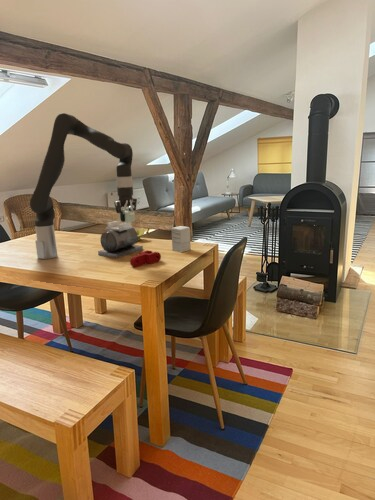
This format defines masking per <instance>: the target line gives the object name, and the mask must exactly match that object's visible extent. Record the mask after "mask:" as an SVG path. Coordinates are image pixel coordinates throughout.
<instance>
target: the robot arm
mask: <svg viewBox="0 0 375 500" xmlns="http://www.w3.org/2000/svg"><path fill="white" fill-rule="evenodd" d="M68 135H72V136H75V137H79V138H81V139H84V140H86V141H87V142H89V143H90V144H91V145H93V146H95V147H97V148H99V149H101V150H103V151H105V152H107V153H108V154H109V155H111V156H112V157H114V158H116V159H118V160H119V161H118V164H117V165H116V190H117V193H116V194H117V196H118V200H117V201H113V203H114V207H115V212H116V214H118V215H119V214H120V219H121V221H122V222H121V223H125V214H124V213H125V210H127V211H136V210H137V202H138V199H137V198H133V196H134V187H133V186H134V185H133V184H134V183H133V177H132V162H133V158H134V157H133V153H134V152H133V148H132V146H131V145H130V144H128V143H123V142H122V143H121V142H118V141H116V140H115V139H114V138H113V137H111V136H110V135H108V134H105V133H104V132H102V131H100V130H96V129H94V128H93V127H91V126H88V125H86V124H85V123H84V122H82V121H81V120H79V119H78V118H76V116H74V115H71V114H68V113H66V112H61V113H58V114H57V116H56V117H55V119H54V123H53V127H52V132H51V137H50V141H49V144H48V147H47V151H46V154H45V156H44V160H43V163H42V165H41V166H42V167H41V169H40V173H39V176H38V180H37V184H36V186H35V189H34V191H33V193H32V196H31V197H30V201H29V207H30V210H31V211H32V212H34V213H35V214H36V216H35V220H34V228H35V234H36V235H35V236H36V240H35V248H36V249H35V250H36V256H37V259H41V260H48V259H54V258H57V257H58V249H57V241H56V240H57V239H56V234H55V223H54V221H55V211H54V210H55V209H54V203H53V199H52V197H51V196H50V195H51V192H52V189H53V188H54V186H55V184H56V183H57V181H58V180H59V177H60V175H61V173H62V171H63V168H64V165H65V142H66V140H67V136H68Z"/></svg>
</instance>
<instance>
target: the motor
mask: <svg viewBox="0 0 375 500" xmlns="http://www.w3.org/2000/svg"><path fill="white" fill-rule="evenodd" d="M104 229H105V230H107V231H105V232H103V233H102V234H101V236H100V244H101V247H102V249H101V250H98V251H97V254H98V255H99V256H102V257H108V258H115V259H119V258H122V257H125V256H128V255H131V254H133V253H137V252H139V251H142V250H144V248H143V247H144V246H143V245H138V244H137V242H138V240H137V239H138V236H137V232H136V230H137V229H135V228H134V227H133V225H132V222H130V223H125V222H121V223H120V222H119V220H114V221H110V222H106V227H105V228H104Z"/></svg>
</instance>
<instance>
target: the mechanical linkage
mask: <svg viewBox="0 0 375 500" xmlns="http://www.w3.org/2000/svg"><path fill="white" fill-rule="evenodd" d="M161 259H162V255H161V253H160V252H158V251H154V252H153V250H148V249H147V250H144V251H141V252H138V254H136V255H133V256H132V257H130V261H129V262H130V264H129V265H130V266H131V267H133V268H138V267H141V266H143V265H153V264H156V263H158V262H160V261H161Z"/></svg>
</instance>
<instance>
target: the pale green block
mask: <svg viewBox="0 0 375 500" xmlns="http://www.w3.org/2000/svg"><path fill="white" fill-rule="evenodd" d="M135 211H136V210H134V211H128V209H126V210H125V213H124V214H125V222H124V223H130V222H131V223H133V222H135V221H136V214H135ZM118 221H119V223H123V222H122V221H121V219H120V214H119V213H118Z"/></svg>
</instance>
